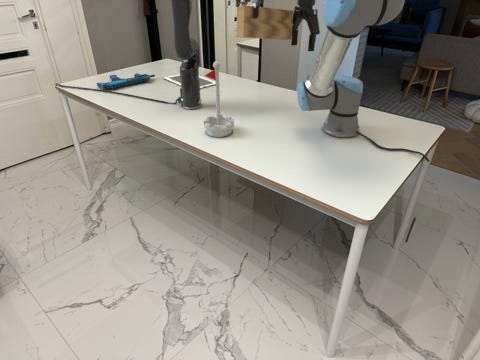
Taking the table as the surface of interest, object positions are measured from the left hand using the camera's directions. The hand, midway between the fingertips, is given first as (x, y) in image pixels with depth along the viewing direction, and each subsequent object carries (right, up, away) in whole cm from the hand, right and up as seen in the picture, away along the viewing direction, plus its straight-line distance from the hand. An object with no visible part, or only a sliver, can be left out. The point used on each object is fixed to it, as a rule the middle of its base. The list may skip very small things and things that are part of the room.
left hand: (248, 18), depth 144 cm
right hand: (+24, -9, +9) cm, 28 cm away
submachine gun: (-75, -8, +66) cm, 100 cm away
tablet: (-34, -7, +67) cm, 76 cm away
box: (+7, -6, +7) cm, 11 cm away
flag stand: (-13, -48, +5) cm, 50 cm away
